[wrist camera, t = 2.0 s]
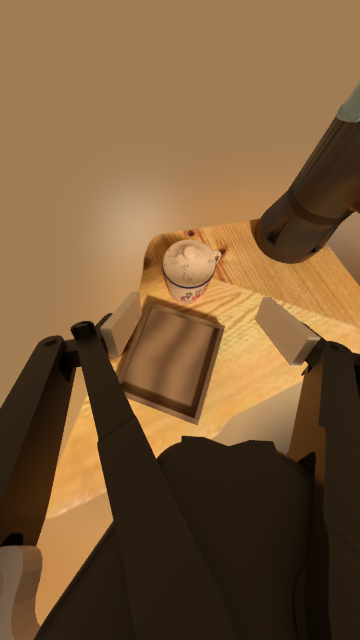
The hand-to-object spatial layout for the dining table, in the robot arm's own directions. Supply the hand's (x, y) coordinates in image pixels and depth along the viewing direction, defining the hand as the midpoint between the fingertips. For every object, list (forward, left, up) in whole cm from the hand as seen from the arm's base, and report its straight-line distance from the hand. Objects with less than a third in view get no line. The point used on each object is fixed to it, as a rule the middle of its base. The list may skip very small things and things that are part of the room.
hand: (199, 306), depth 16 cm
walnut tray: (+2, +7, -15) cm, 17 cm away
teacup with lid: (+3, -10, -15) cm, 19 cm away
